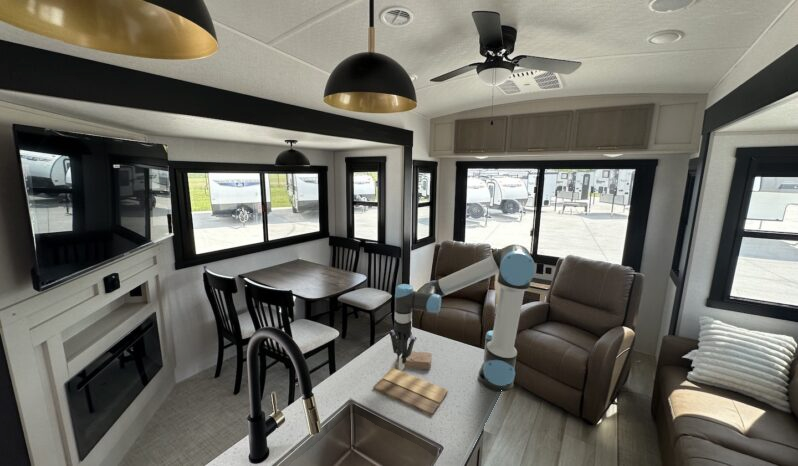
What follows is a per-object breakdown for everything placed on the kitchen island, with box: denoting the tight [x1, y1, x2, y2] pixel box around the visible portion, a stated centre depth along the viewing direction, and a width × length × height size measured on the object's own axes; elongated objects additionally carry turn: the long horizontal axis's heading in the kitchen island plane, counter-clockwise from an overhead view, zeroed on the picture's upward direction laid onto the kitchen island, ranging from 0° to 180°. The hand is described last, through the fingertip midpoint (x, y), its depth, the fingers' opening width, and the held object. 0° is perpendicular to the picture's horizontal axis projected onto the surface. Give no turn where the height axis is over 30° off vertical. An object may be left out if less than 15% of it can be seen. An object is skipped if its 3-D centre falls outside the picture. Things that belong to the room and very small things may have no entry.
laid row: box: [372, 378, 440, 417], centre depth 128 cm, size 28×6×1 cm, turn 58°
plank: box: [381, 367, 448, 406], centre depth 135 cm, size 28×8×1 cm, turn 58°
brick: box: [396, 350, 433, 370], centre depth 152 cm, size 17×8×5 cm, turn 80°
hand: (401, 368), depth 139 cm, fingers closed
